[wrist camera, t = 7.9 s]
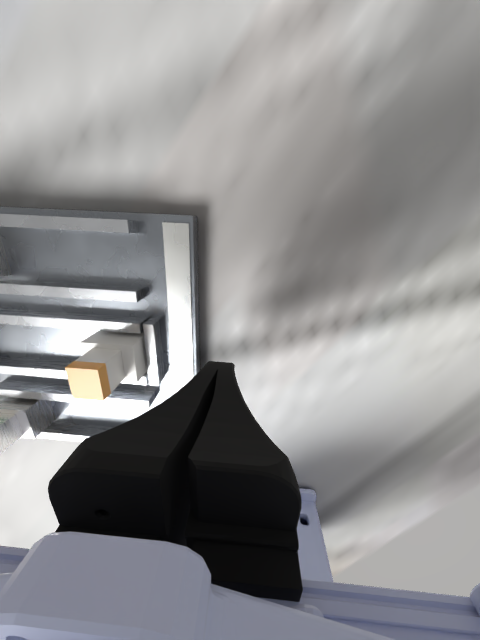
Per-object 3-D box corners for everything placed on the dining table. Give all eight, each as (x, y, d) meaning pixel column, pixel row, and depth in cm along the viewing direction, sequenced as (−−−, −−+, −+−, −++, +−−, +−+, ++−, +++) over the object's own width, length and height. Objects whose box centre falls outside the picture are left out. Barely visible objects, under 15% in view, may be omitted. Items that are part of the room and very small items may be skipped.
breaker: (147, 332, 14) (111, 365, 11) (150, 366, 15) (118, 406, 11) (100, 329, 14) (49, 360, 11) (106, 362, 15) (60, 402, 12)
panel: (197, 217, 13) (165, 206, 8) (201, 433, 18) (183, 497, 14) (-88, 203, 13) (-259, 187, 9) (0, 416, 19) (-78, 471, 15)
